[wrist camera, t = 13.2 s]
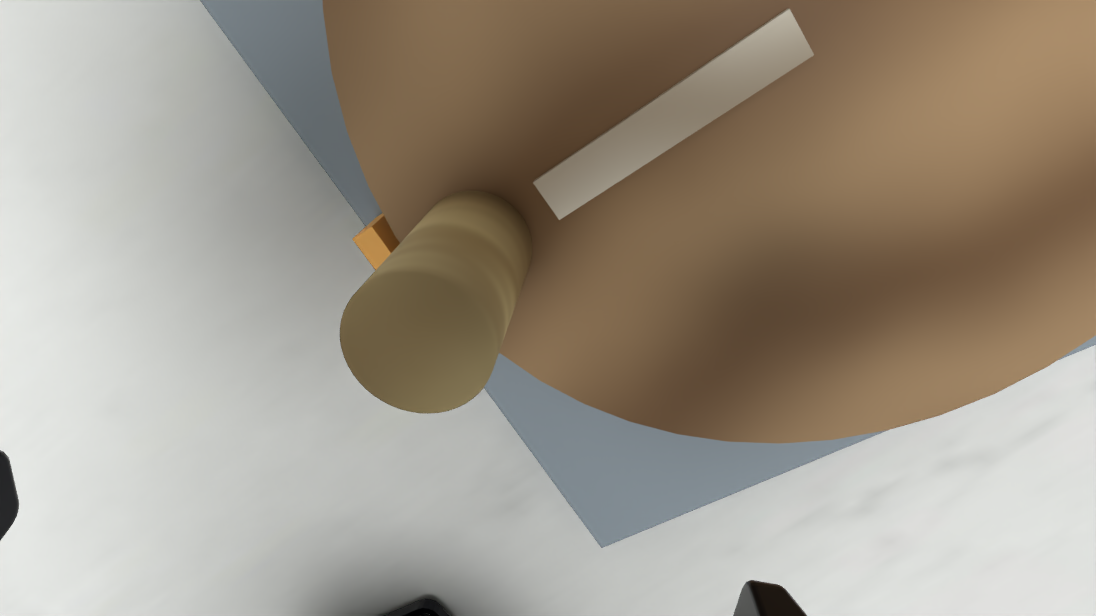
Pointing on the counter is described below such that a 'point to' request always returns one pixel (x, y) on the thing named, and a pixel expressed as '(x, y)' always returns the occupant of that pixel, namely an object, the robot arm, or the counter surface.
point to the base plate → (528, 404)
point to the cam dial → (723, 203)
